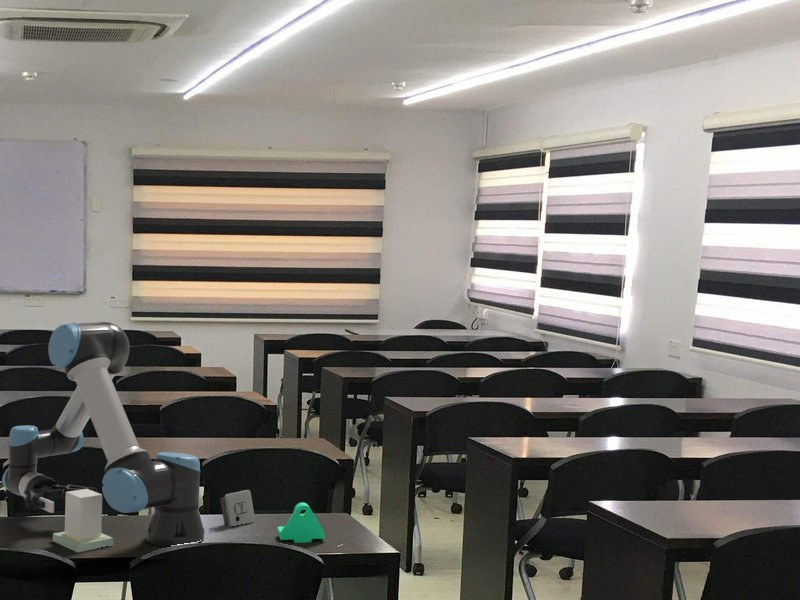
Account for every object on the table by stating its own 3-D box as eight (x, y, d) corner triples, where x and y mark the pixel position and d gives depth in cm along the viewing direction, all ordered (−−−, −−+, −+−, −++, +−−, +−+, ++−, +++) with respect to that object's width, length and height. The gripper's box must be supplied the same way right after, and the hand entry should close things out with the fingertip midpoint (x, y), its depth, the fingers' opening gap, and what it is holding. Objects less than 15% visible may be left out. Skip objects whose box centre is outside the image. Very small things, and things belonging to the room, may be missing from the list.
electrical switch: (231, 528, 281) (230, 495, 281) (218, 526, 284) (217, 493, 285) (255, 522, 288) (254, 490, 289) (243, 520, 292) (242, 488, 292)
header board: (52, 541, 262) (53, 517, 262) (87, 534, 269) (88, 511, 269) (77, 552, 253) (78, 528, 253) (112, 545, 260) (113, 522, 260)
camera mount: (319, 534, 279) (321, 498, 279) (324, 542, 272) (325, 505, 272) (276, 535, 276) (278, 499, 276) (280, 543, 269) (281, 506, 268)
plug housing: (64, 533, 262) (65, 491, 261) (85, 529, 266) (86, 488, 266) (79, 540, 256) (81, 497, 256) (101, 536, 260) (102, 494, 260)
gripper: (79, 495, 287) (118, 510, 272) (-6, 508, 268) (31, 525, 254) (80, 469, 286) (119, 483, 272) (-6, 480, 268) (32, 496, 254)
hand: (77, 503), depth 263 cm, fingers open, 13 cm apart
